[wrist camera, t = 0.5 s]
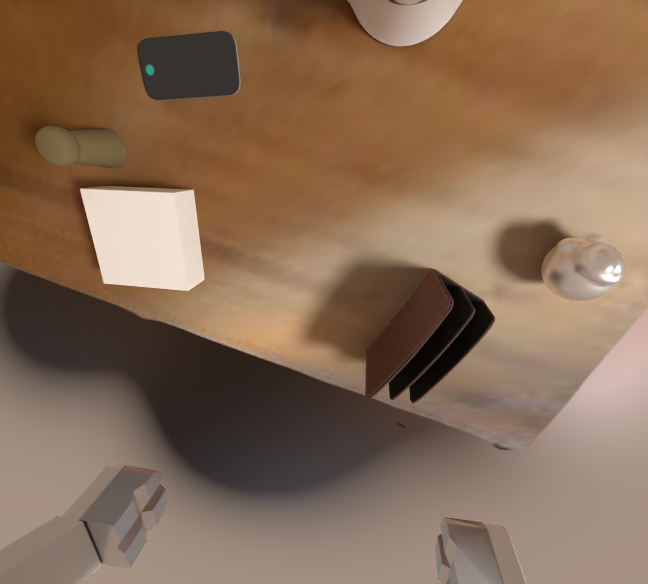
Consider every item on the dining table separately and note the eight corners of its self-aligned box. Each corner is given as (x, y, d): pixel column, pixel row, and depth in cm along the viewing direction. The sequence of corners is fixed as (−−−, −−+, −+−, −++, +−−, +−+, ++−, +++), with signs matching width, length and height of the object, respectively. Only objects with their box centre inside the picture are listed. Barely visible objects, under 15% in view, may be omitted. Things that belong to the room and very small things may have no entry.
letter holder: (365, 351, 60) (362, 403, 48) (433, 267, 52) (451, 302, 40) (409, 378, 61) (418, 436, 48) (483, 299, 53) (516, 344, 40)
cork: (101, 171, 55) (39, 173, 45) (86, 132, 53) (17, 126, 43) (131, 164, 54) (74, 165, 44) (117, 124, 52) (53, 116, 42)
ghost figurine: (614, 242, 47) (671, 262, 38) (569, 296, 51) (611, 326, 41) (557, 217, 47) (600, 230, 38) (517, 272, 50) (547, 297, 41)
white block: (109, 185, 56) (79, 188, 51) (194, 189, 54) (173, 192, 49) (128, 272, 62) (104, 283, 57) (205, 278, 60) (188, 290, 55)
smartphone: (134, 39, 46) (233, 29, 44) (138, 41, 47) (236, 31, 45) (147, 100, 49) (240, 94, 47) (151, 101, 50) (242, 95, 47)
